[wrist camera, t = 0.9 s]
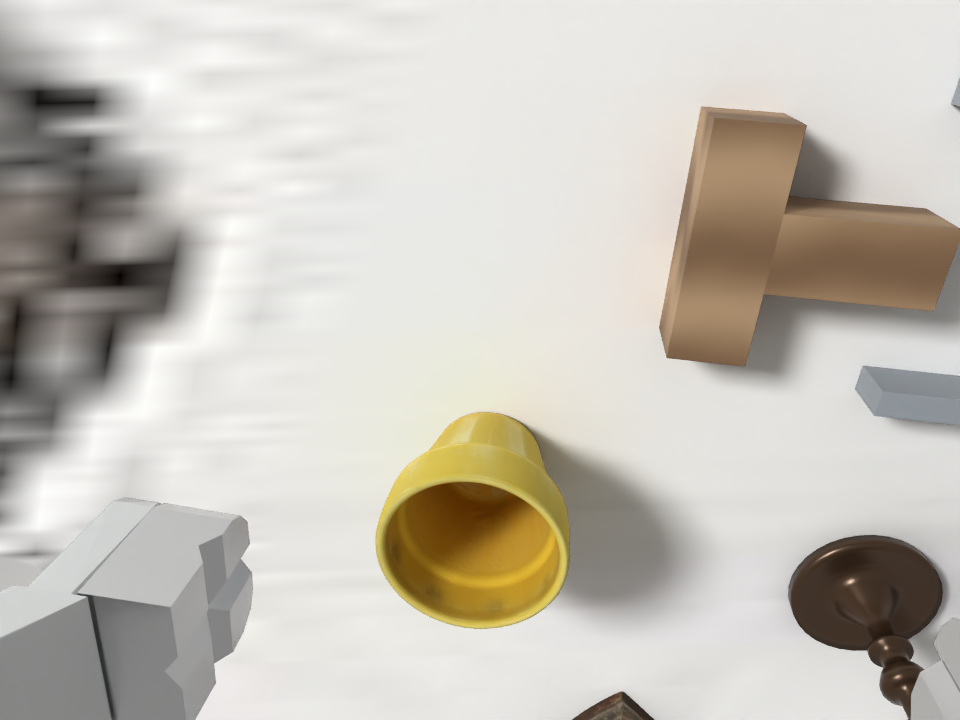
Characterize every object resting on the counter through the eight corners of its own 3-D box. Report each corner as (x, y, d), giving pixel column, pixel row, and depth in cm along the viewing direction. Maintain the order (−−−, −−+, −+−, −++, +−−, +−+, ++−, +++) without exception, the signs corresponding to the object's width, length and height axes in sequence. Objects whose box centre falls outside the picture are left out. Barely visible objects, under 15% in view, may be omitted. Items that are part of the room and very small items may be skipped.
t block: (701, 106, 36) (714, 117, 32) (954, 126, 35) (996, 140, 31) (659, 327, 41) (666, 357, 38) (877, 350, 40) (906, 383, 37)
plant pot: (601, 425, 44) (606, 528, 36) (529, 541, 49) (518, 657, 40) (447, 357, 44) (414, 444, 35) (389, 481, 48) (347, 586, 40)
